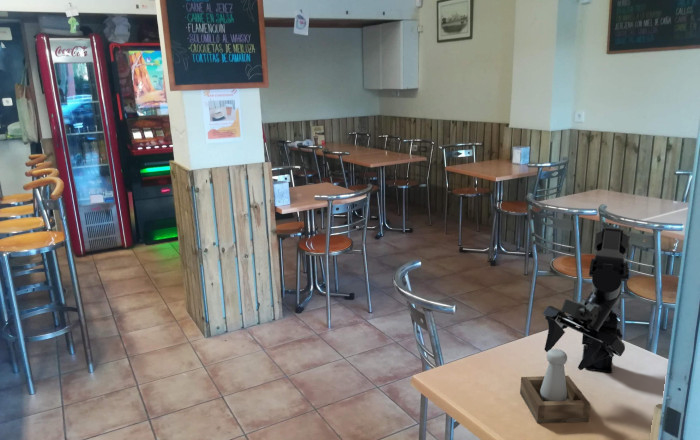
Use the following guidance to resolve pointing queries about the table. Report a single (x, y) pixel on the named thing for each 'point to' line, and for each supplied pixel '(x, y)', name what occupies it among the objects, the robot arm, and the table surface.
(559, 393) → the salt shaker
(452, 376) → the table surface
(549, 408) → the socket block
